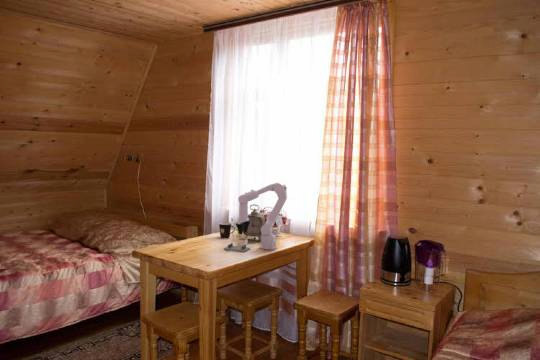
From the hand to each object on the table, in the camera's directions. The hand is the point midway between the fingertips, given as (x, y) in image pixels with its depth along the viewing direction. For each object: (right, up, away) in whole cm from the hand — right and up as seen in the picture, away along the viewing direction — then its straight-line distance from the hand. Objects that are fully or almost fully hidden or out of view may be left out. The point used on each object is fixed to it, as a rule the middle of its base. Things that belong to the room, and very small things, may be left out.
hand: (242, 233), depth 296 cm
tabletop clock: (+7, -7, +18) cm, 21 cm away
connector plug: (0, -8, +1) cm, 8 cm away
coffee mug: (-13, -6, +23) cm, 27 cm away
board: (-3, -9, -10) cm, 14 cm away
